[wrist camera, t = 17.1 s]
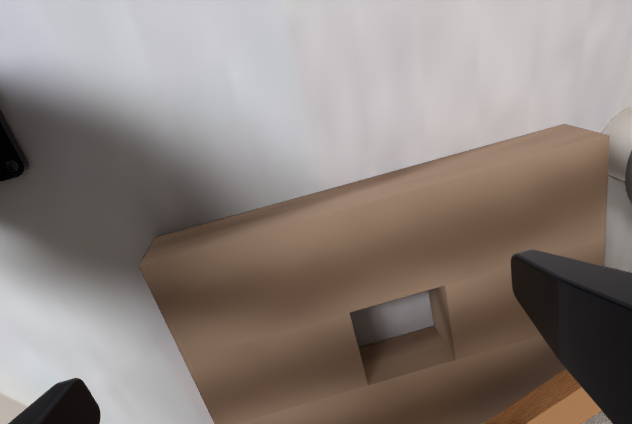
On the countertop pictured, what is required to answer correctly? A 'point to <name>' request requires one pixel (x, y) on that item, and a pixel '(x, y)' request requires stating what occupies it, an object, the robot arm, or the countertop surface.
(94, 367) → the countertop surface
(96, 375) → the countertop surface
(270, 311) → the socket block
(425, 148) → the countertop surface
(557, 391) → the orange wooden strip
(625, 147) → the plug
